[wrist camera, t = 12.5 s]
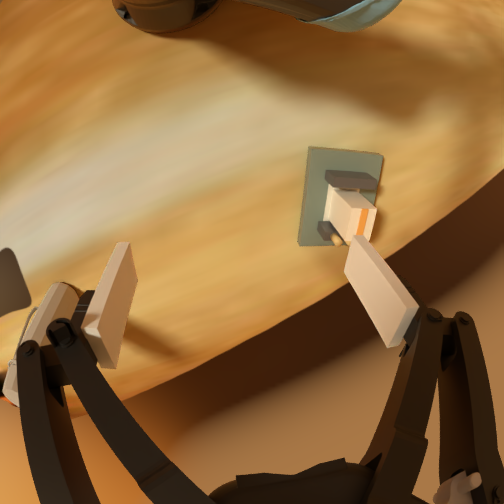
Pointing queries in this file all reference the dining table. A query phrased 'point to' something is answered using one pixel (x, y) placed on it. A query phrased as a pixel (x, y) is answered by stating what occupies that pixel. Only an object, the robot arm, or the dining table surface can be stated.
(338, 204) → the plug
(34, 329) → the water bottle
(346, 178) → the header board
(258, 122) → the dining table surface
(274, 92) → the dining table surface
